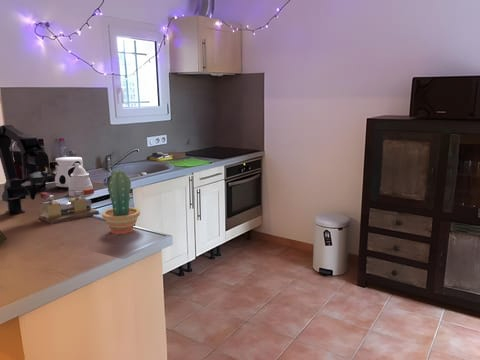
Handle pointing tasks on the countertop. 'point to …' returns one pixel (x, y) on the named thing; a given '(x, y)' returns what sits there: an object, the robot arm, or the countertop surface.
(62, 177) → the milk container
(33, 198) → the robot arm
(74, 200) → the pipe manifold
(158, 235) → the countertop surface
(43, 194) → the valve lever
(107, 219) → the potted cactus
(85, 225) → the countertop surface
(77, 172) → the honey pot
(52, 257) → the countertop surface
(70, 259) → the countertop surface
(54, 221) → the beige flat board
